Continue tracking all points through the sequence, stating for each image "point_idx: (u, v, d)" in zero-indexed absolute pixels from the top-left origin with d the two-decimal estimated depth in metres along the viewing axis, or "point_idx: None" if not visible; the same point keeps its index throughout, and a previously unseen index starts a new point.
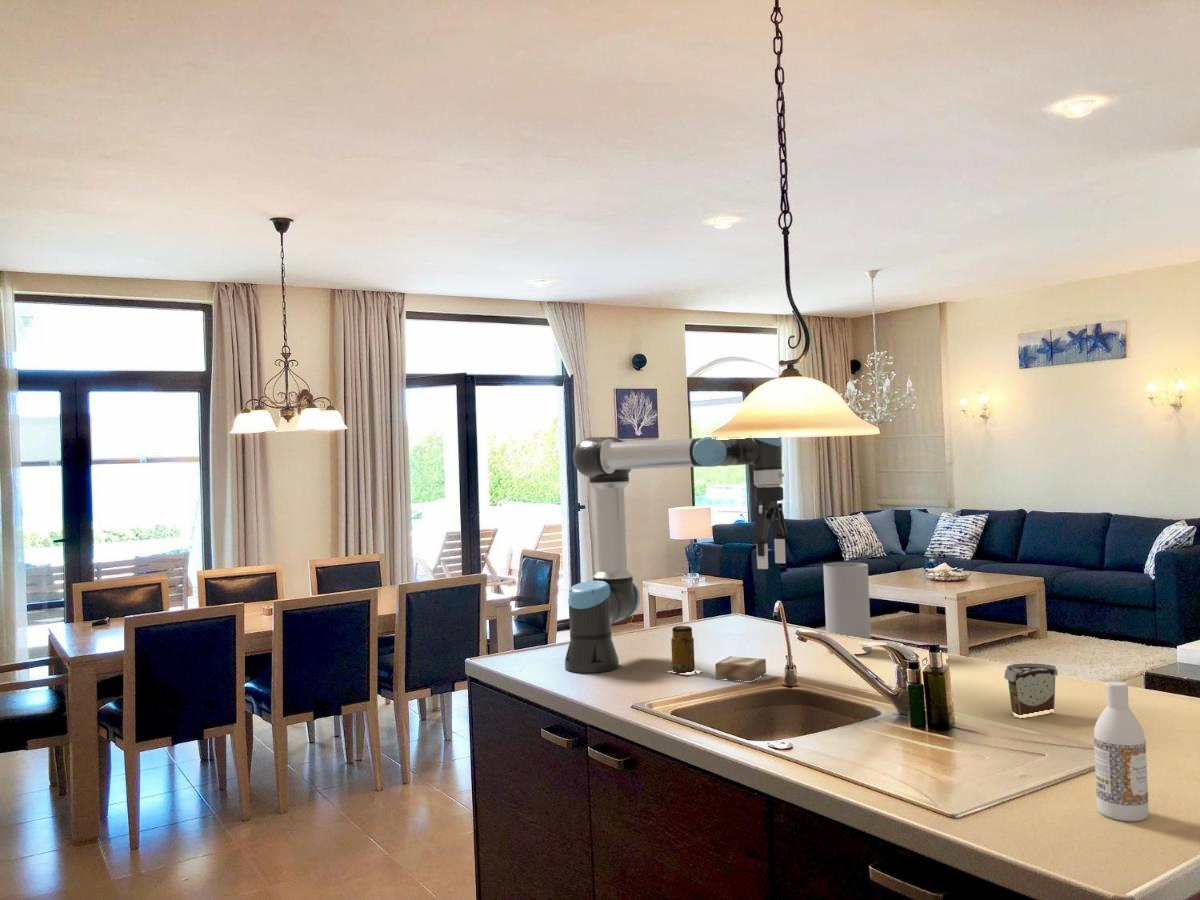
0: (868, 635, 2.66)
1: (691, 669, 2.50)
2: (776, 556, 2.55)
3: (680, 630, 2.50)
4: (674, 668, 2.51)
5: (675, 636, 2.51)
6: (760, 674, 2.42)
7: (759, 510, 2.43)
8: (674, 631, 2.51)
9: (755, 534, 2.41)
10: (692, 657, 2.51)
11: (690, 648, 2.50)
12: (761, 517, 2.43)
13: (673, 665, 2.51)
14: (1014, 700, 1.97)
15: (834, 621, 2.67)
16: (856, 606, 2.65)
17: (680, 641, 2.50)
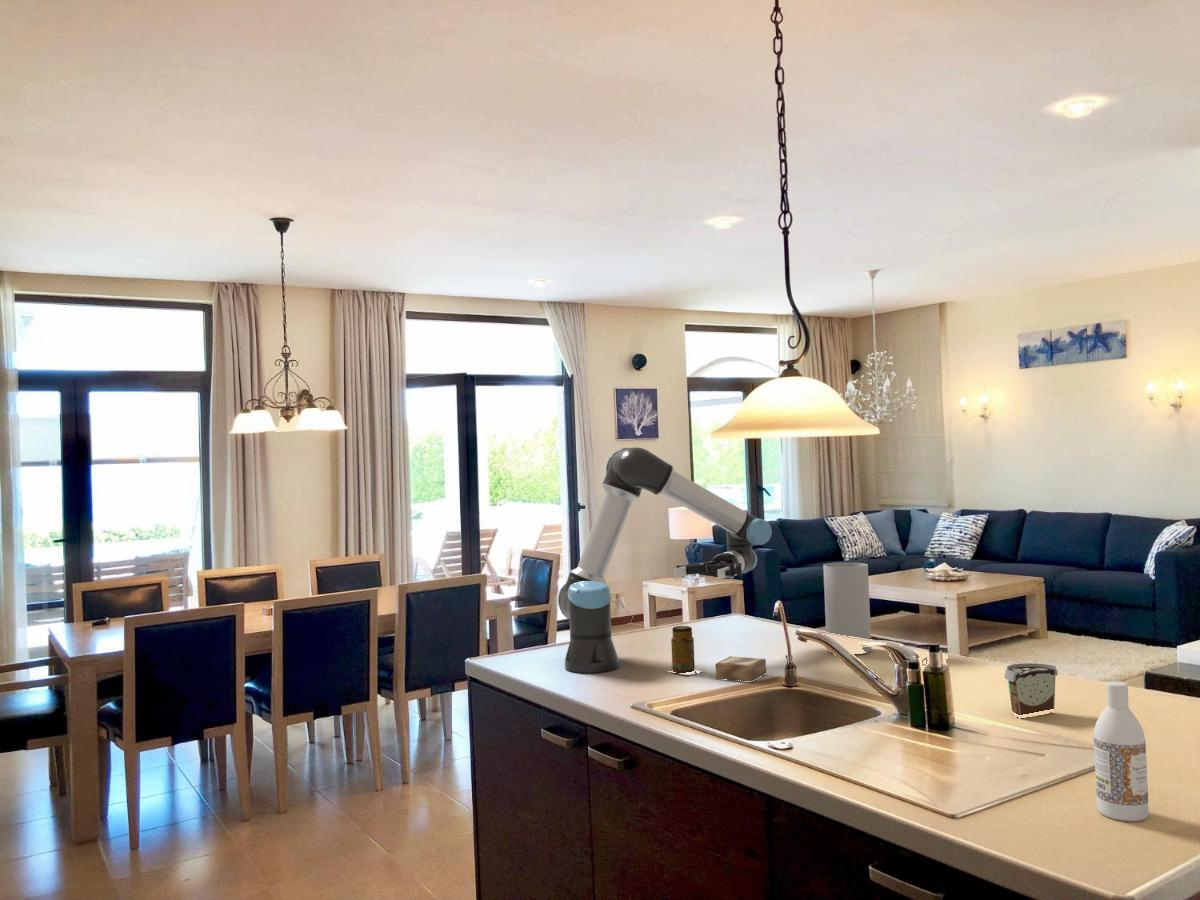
0: (868, 635, 2.66)
1: (691, 669, 2.50)
2: (678, 569, 2.65)
3: (680, 630, 2.50)
4: (674, 668, 2.51)
5: (675, 636, 2.51)
6: (760, 674, 2.42)
7: (740, 567, 2.69)
8: (674, 631, 2.51)
9: None
10: (692, 657, 2.51)
11: (690, 648, 2.50)
12: None
13: (673, 665, 2.51)
14: (1014, 700, 1.97)
15: (834, 621, 2.67)
16: (856, 606, 2.65)
17: (680, 641, 2.50)
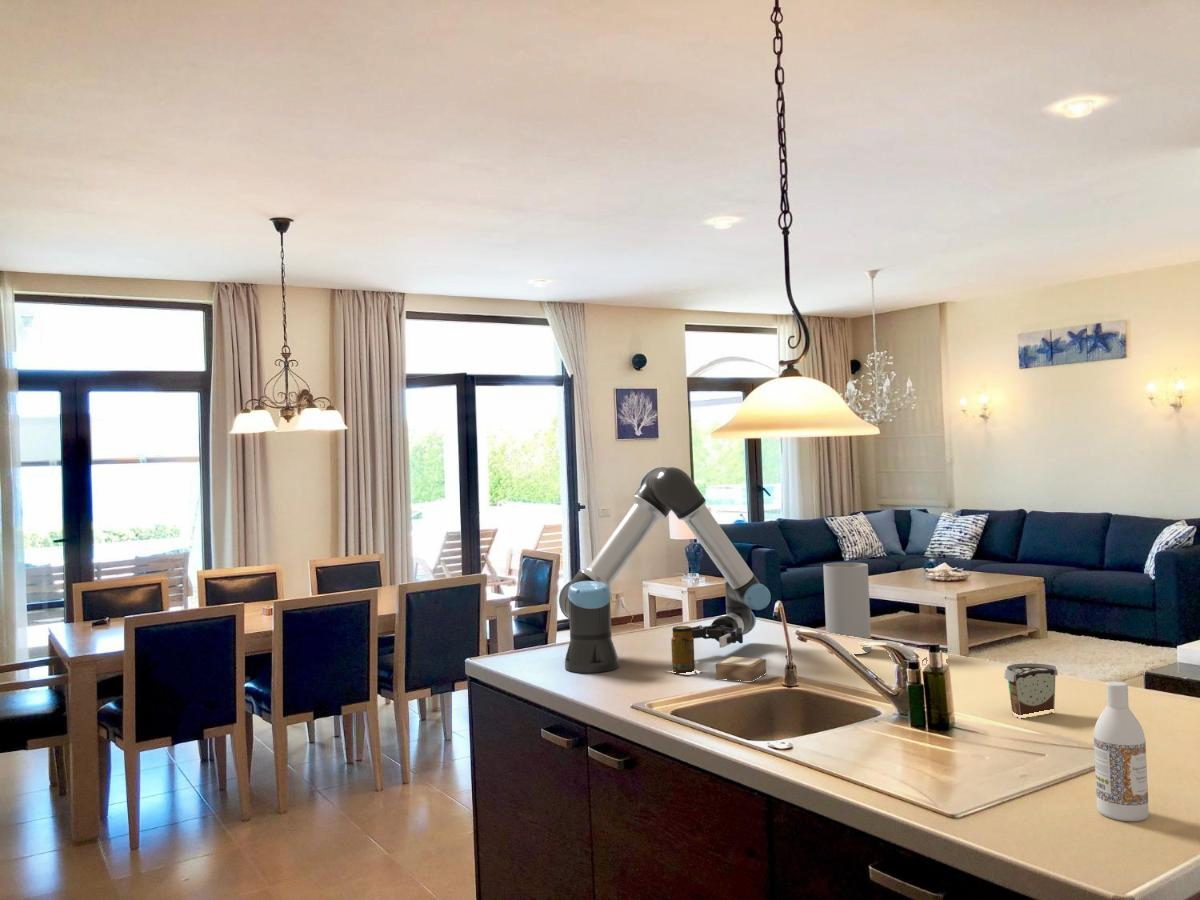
0: (868, 635, 2.66)
1: (691, 669, 2.50)
2: None
3: (680, 630, 2.50)
4: (674, 668, 2.51)
5: (675, 636, 2.51)
6: (760, 674, 2.42)
7: (741, 632, 2.68)
8: (674, 631, 2.51)
9: None
10: (692, 657, 2.51)
11: (690, 648, 2.50)
12: None
13: (673, 665, 2.51)
14: (1014, 700, 1.97)
15: (834, 621, 2.67)
16: (856, 606, 2.65)
17: (680, 641, 2.50)
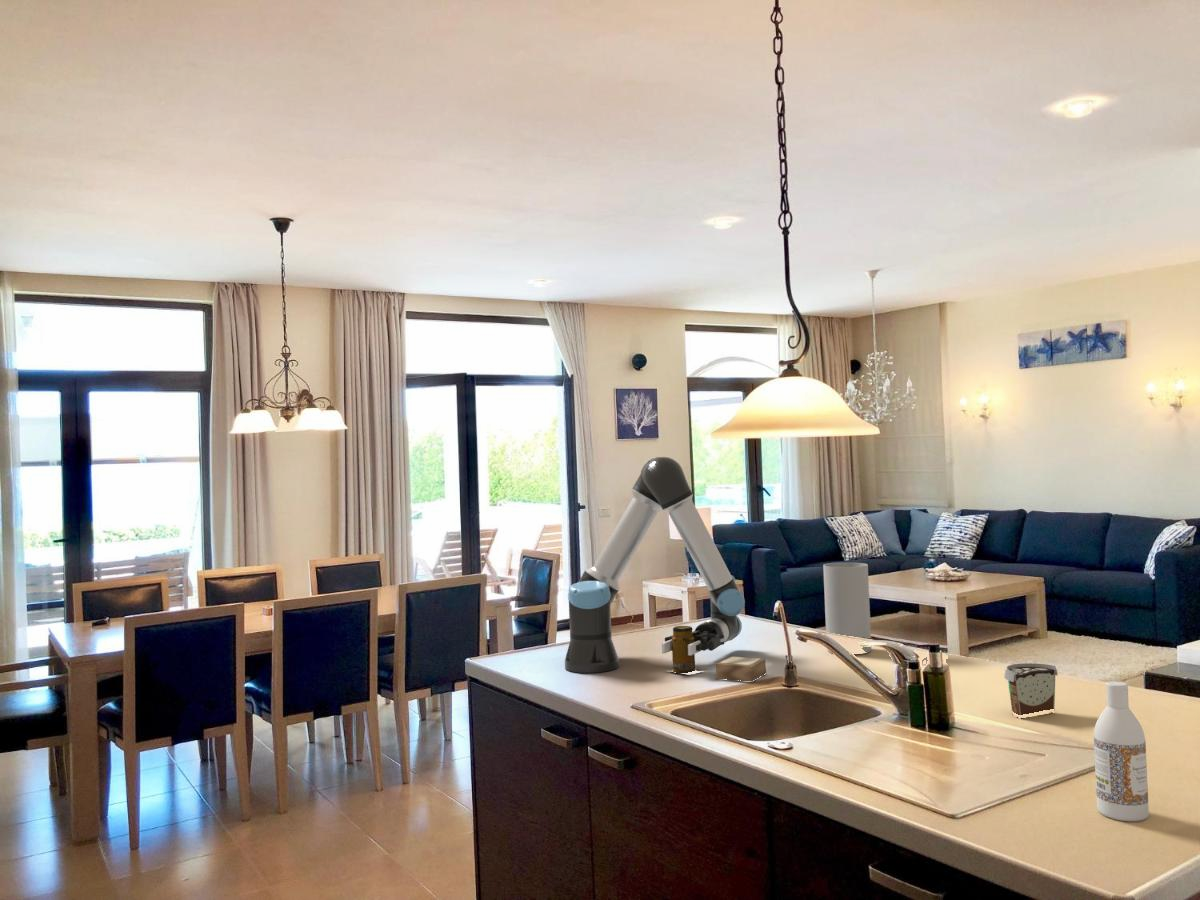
0: (868, 635, 2.66)
1: (692, 669, 2.50)
2: (667, 643, 2.51)
3: (681, 630, 2.50)
4: (675, 668, 2.51)
5: (676, 636, 2.51)
6: (760, 674, 2.42)
7: (722, 639, 2.58)
8: (675, 631, 2.51)
9: (714, 642, 2.52)
10: (693, 657, 2.51)
11: None
12: (719, 643, 2.56)
13: (673, 665, 2.51)
14: (1014, 700, 1.97)
15: (834, 621, 2.67)
16: (856, 606, 2.65)
17: (681, 640, 2.49)
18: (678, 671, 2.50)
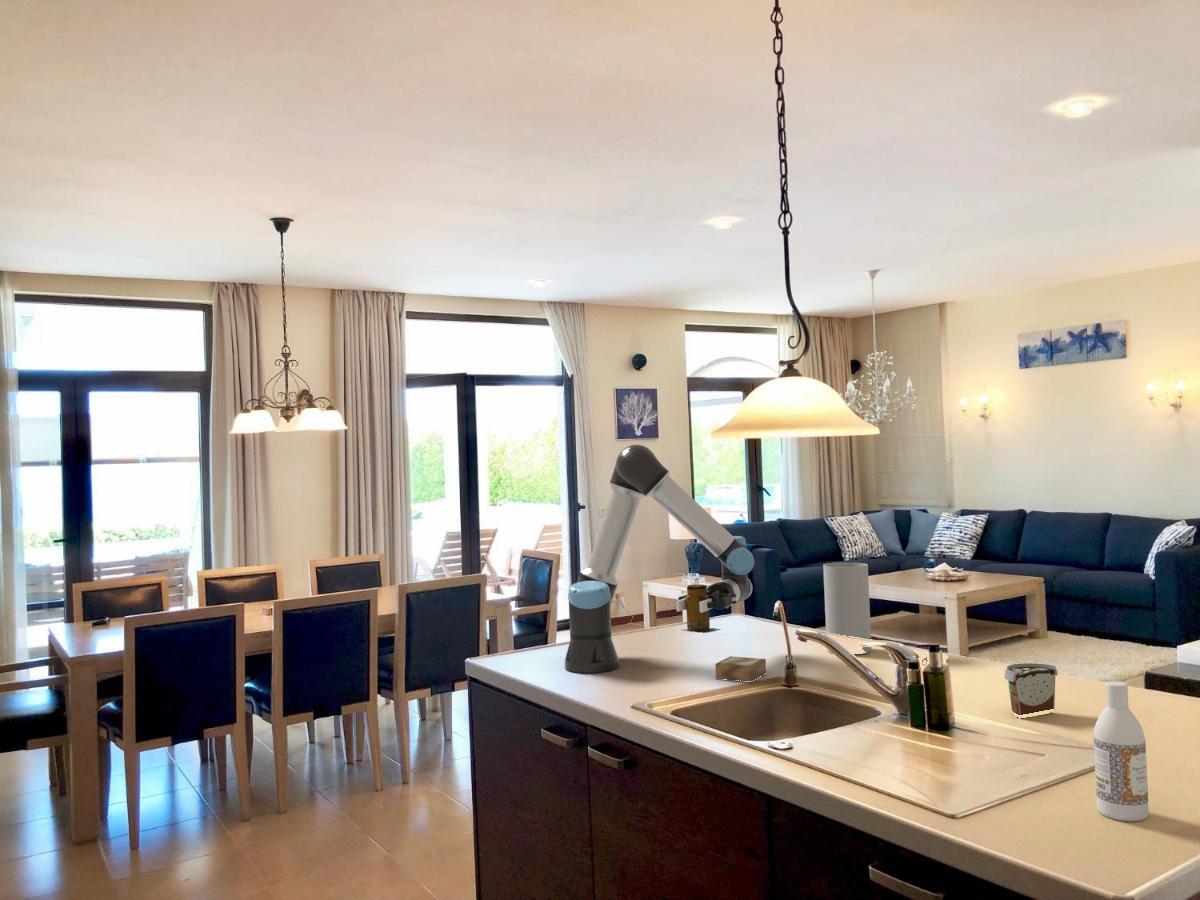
0: (868, 635, 2.66)
1: (706, 627, 2.49)
2: (681, 602, 2.49)
3: (695, 588, 2.48)
4: (689, 626, 2.49)
5: (690, 594, 2.49)
6: (760, 674, 2.42)
7: (734, 598, 2.56)
8: (689, 589, 2.49)
9: (725, 600, 2.51)
10: (707, 615, 2.49)
11: None
12: (731, 601, 2.55)
13: (688, 623, 2.49)
14: (1014, 700, 1.97)
15: (834, 621, 2.67)
16: (856, 606, 2.65)
17: (696, 598, 2.48)
18: (693, 629, 2.48)
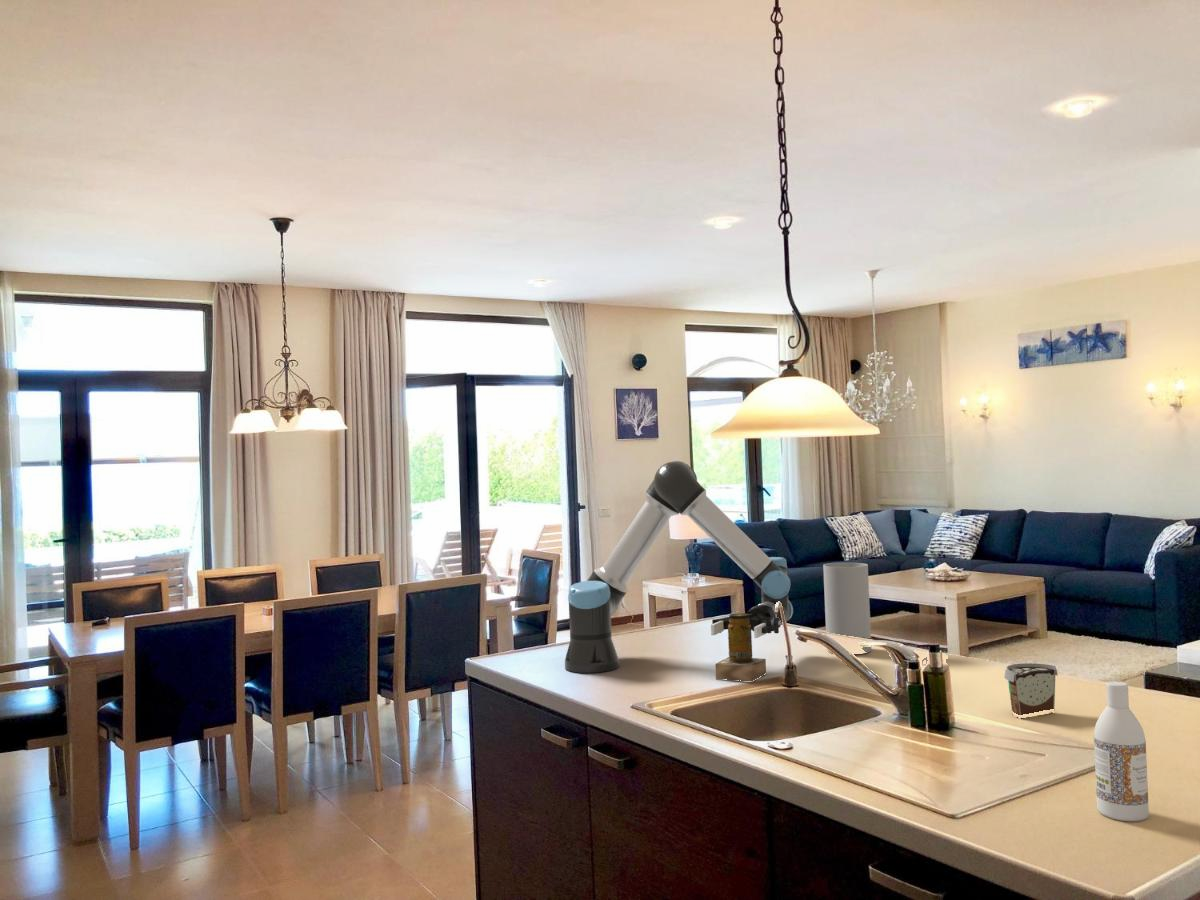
0: (868, 635, 2.66)
1: (749, 657, 2.42)
2: (716, 625, 2.45)
3: (738, 617, 2.42)
4: (731, 657, 2.42)
5: (733, 623, 2.43)
6: (760, 674, 2.42)
7: (779, 621, 2.50)
8: (731, 618, 2.43)
9: None
10: (750, 645, 2.42)
11: (748, 636, 2.42)
12: None
13: (730, 653, 2.43)
14: (1014, 700, 1.97)
15: (834, 621, 2.67)
16: (856, 606, 2.65)
17: (738, 628, 2.41)
18: (735, 660, 2.42)
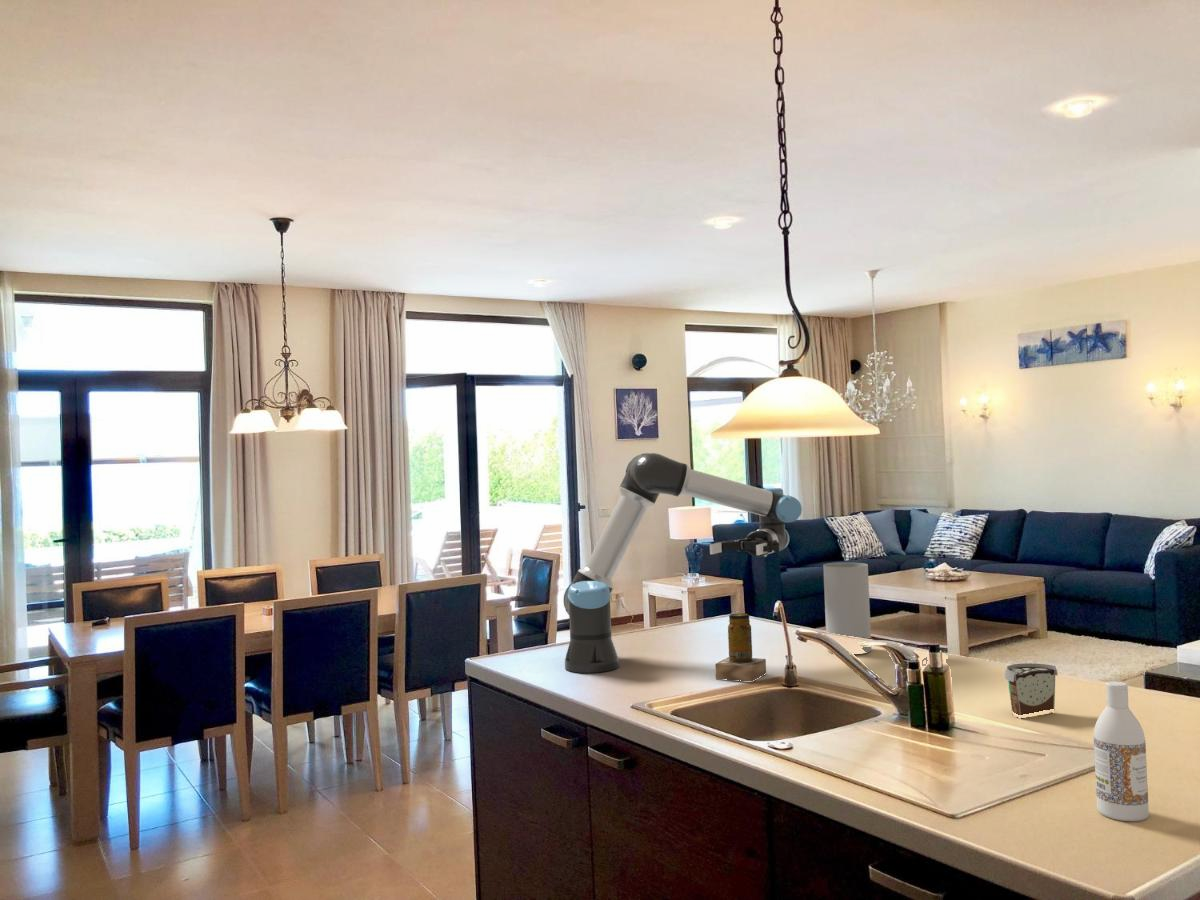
0: (868, 635, 2.66)
1: (749, 657, 2.42)
2: (714, 545, 2.61)
3: (738, 617, 2.42)
4: (731, 657, 2.42)
5: (733, 623, 2.42)
6: (760, 674, 2.42)
7: None
8: (731, 618, 2.43)
9: None
10: (750, 645, 2.42)
11: (748, 636, 2.42)
12: None
13: (730, 653, 2.43)
14: (1014, 700, 1.97)
15: (834, 621, 2.67)
16: (856, 606, 2.65)
17: (738, 628, 2.41)
18: (735, 660, 2.42)
